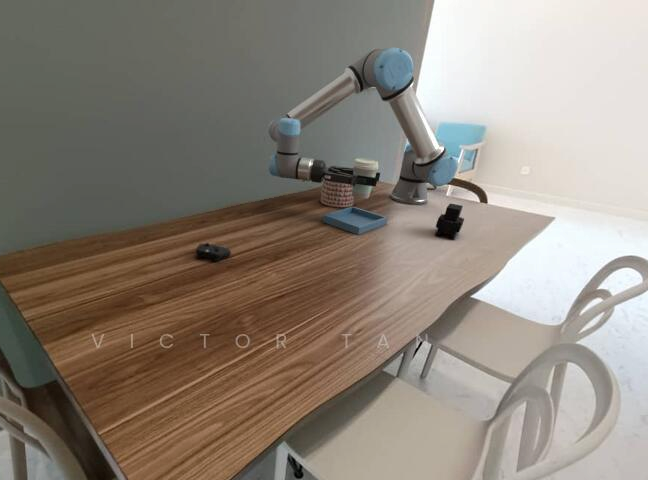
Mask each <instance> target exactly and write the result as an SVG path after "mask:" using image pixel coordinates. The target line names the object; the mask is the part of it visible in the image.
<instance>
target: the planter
mask: <svg viewBox="0 0 648 480" xmlns="http://www.w3.org/2000/svg"><path fill="white" fill-rule="evenodd" d="M352 186H353V185H349V184H344V183H338V182H333V181H325V180H324V179H323V181H322V182H321V190H320V191H321V192H320V199H319V200H320V201H319V202H320V203H321V204H322V205H324V206H327V207H330V208H336V209H345V208H349V207H352V206H353V207H354V204H355V199H356V198H355V197H353V196H352Z"/></svg>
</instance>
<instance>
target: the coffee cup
mask: <svg viewBox="0 0 648 480" xmlns="http://www.w3.org/2000/svg"><path fill="white" fill-rule="evenodd" d="M352 168H353V175H354V176H358V175H360V176H367V177H375V175H376V172H377V171H378V169H379V161H378V160H375V159H371V158H355V160H354V162H353V163H352ZM372 188H373V186H367V185H360V184H356V185H355V186H352V196H353V197H355V199H358V200H359V199H360V200H366V199H367V200H368V199H369V198H370V194H371V192H372Z"/></svg>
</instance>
